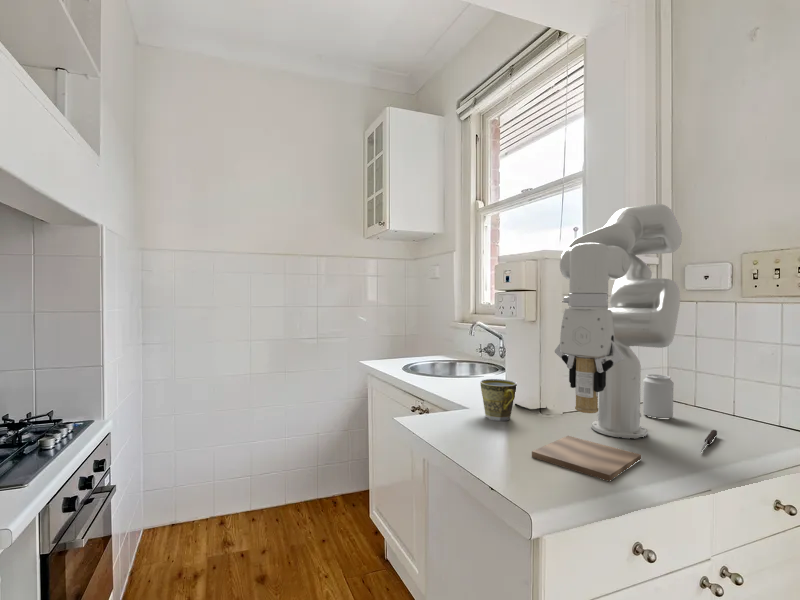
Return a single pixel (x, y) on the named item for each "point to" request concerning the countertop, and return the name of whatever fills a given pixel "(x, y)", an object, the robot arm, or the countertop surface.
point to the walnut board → (587, 457)
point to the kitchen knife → (709, 438)
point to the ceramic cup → (498, 398)
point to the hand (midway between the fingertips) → (586, 388)
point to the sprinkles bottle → (586, 385)
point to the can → (658, 396)
